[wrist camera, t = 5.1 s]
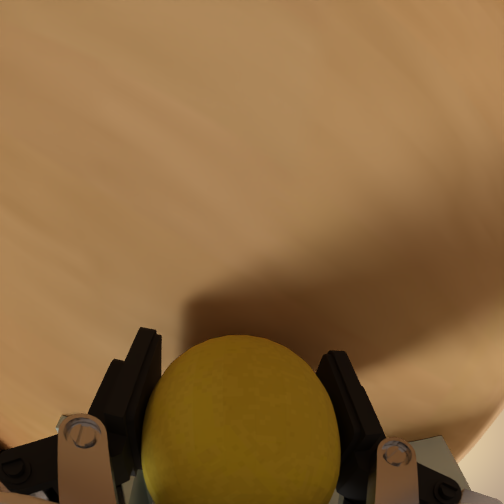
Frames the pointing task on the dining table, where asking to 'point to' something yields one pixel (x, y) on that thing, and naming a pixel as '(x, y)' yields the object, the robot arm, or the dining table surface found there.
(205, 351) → the lemon
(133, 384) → the robot arm
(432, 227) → the dining table surface
